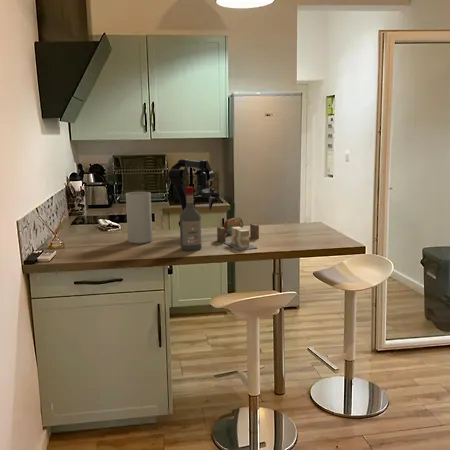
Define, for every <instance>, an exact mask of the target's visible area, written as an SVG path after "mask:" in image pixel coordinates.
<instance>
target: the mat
mask: <svg viewBox="0 0 450 450" xmlns="http://www.w3.org/2000/svg"><path fill="white" fill-rule="evenodd" d="M223 244H225V245H226V246H229V247H230V248H233V249H234V250H236V251H238V252H239V251H249V250H255V249H258V247H257V246H255V245H253V244H251V243H249V247H245V248H241V247H239V246H237V245H235V244H233V243H231V241H230V240H229V241H226V242H223Z"/></svg>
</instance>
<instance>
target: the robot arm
mask: <svg viewBox="0 0 450 450" xmlns="http://www.w3.org/2000/svg"><path fill="white" fill-rule="evenodd" d="M182 168H184V169H182ZM189 168H192V169H193V170H196V171H195V173H194V176H195V178H196V182H195V183H196V184H195V187H196V191H195V193H193V205H194V208H195V209H196V210H197V207H196V204H195V203H196V198H203V199H207V198H208V210H209V211H211V210H212V207H213V204H214V203H215V201H216V200H218V198H220V192H218V191H215V189H214V187H210V188H209V185H208V182H211V181H214V180H215V177H216V175H215V172H214V171H213V170H212V168H211V165H210V163H209V161H208V160H207V159H194V160H190V159H183V158H182V159H179V160H178V161H177V163H175V164H174V165H172V166H171V168H170V170H169V171H168V175H167V176H168V179H169V181H170V183H171V184H172V185H174V186H175V189H176V192H177V196H178V199H179V202H180V205H181V210H182V211H183V210H184V209H185V208H186V187H187V186H186V181H187V176H188V174H189ZM182 211H181V212H182ZM197 211H198V210H197ZM178 227H179V228H180V220H179V221H178Z"/></svg>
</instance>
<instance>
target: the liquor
mask: <svg viewBox="0 0 450 450" xmlns="http://www.w3.org/2000/svg"><path fill="white" fill-rule="evenodd" d="M193 194H194V186H186V208H185V209H184V210H183V211H181V212H180V215H179V221H180V227H179V232H180V233H179V234H180V236H179V237H180V238H179V239H180V241H179V242H180V248H181V249H182V250H183V251H186V252H193V251H199V250H201V249H202V216H201V214H200V212H199V211H198V210H196V209H197V208H196V207H195V208H196V209H195V208H194V205H193Z"/></svg>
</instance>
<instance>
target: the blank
mask: <svg viewBox="0 0 450 450" xmlns="http://www.w3.org/2000/svg"><path fill="white" fill-rule="evenodd" d="M230 237H231V238H230V239H231V243H233V244H235V245H237V246H239V247H241V248H245V247H249V244H250V230H248V229H246V228H244V227H243V228H241V227H239V226H238V227H231V235H230Z"/></svg>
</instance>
